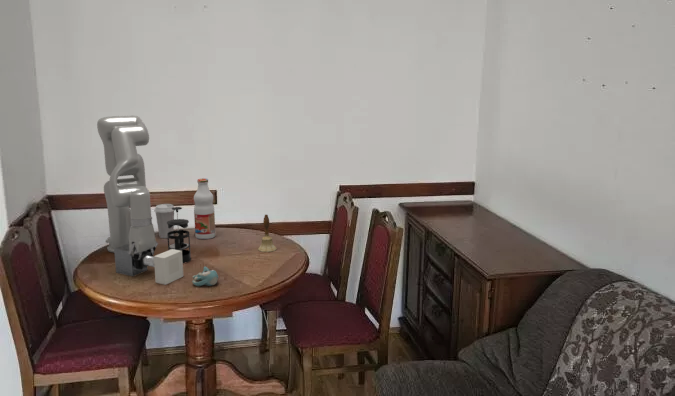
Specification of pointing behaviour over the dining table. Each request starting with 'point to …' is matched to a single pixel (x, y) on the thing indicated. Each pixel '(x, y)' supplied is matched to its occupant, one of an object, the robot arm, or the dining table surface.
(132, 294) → the dining table surface
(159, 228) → the coffee cup
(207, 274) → the stuffed animal
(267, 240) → the hand bell
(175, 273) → the socket
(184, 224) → the french press
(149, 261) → the rod
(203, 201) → the fruit juice
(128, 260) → the grey metal block
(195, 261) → the dining table surface
